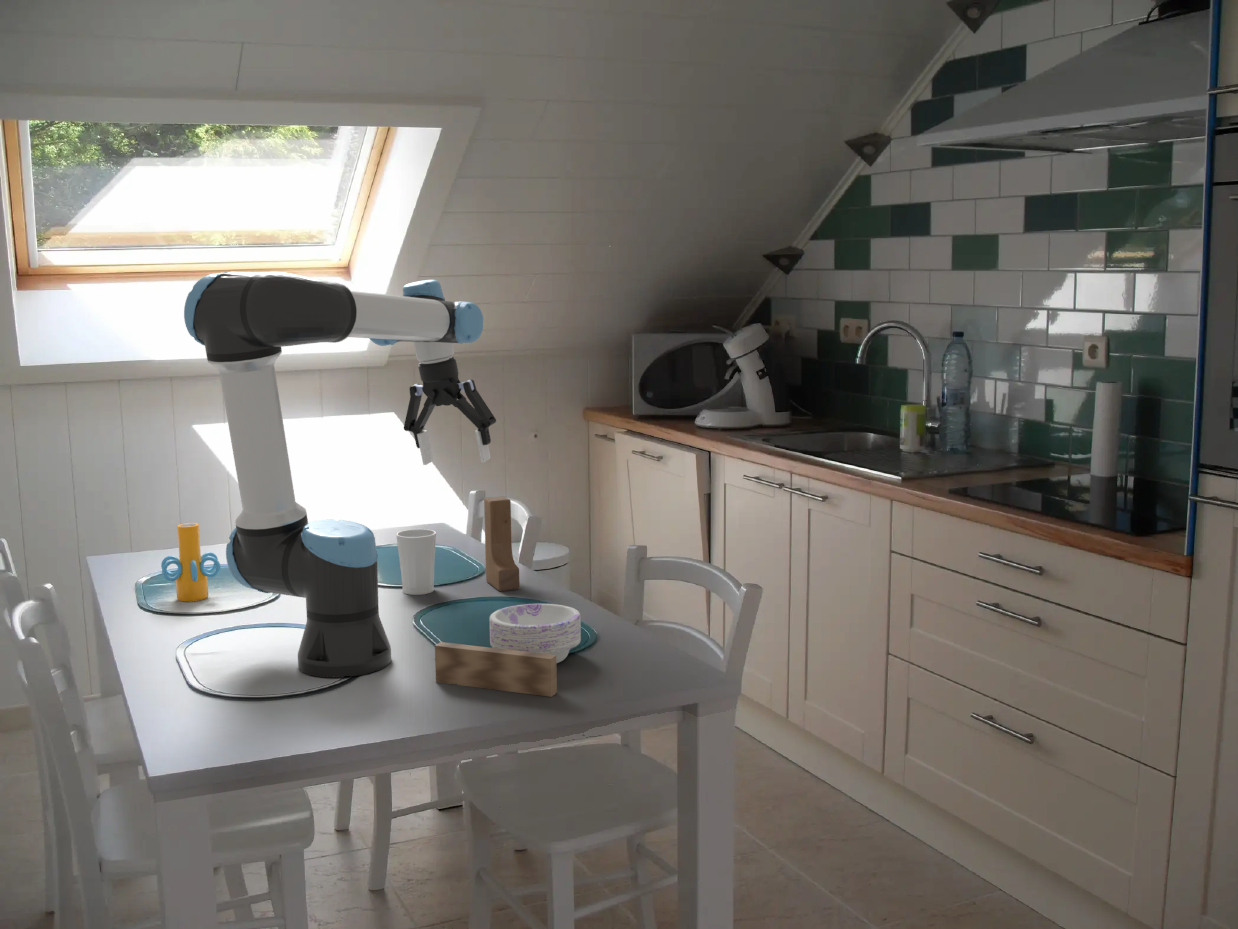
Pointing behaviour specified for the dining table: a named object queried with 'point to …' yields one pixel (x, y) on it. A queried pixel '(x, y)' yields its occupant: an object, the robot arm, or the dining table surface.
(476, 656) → the rail
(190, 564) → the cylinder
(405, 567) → the cup
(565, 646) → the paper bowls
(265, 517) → the robot arm
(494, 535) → the wooden block
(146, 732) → the dining table surface
